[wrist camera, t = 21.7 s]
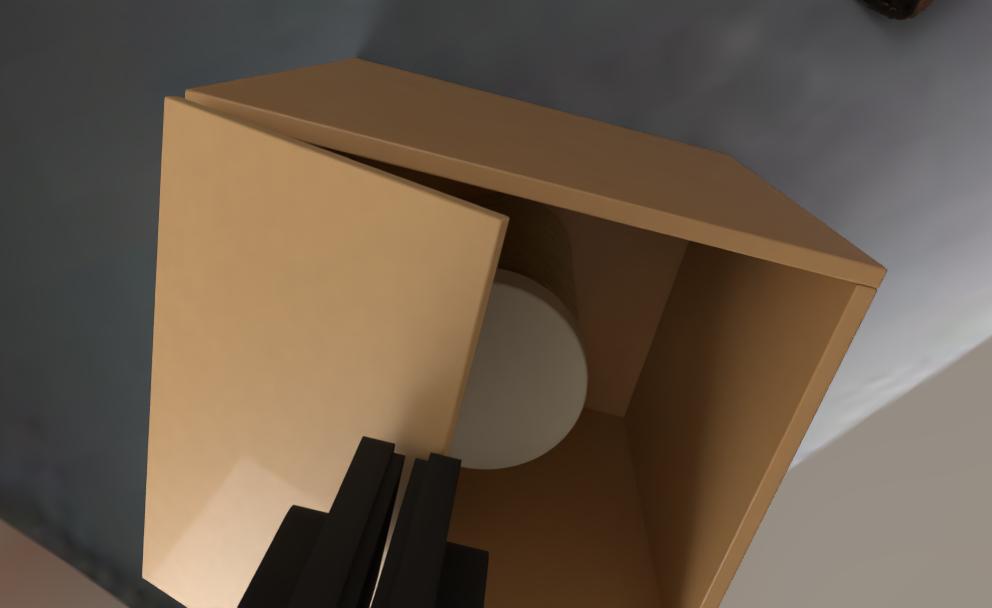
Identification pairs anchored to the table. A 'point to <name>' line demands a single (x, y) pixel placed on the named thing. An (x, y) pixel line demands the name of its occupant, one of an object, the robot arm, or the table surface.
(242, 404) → the flap
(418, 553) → the robot arm
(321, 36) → the table surface
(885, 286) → the table surface
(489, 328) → the tea tin
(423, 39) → the table surface
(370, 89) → the carton
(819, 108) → the table surface
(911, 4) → the sunglasses case
